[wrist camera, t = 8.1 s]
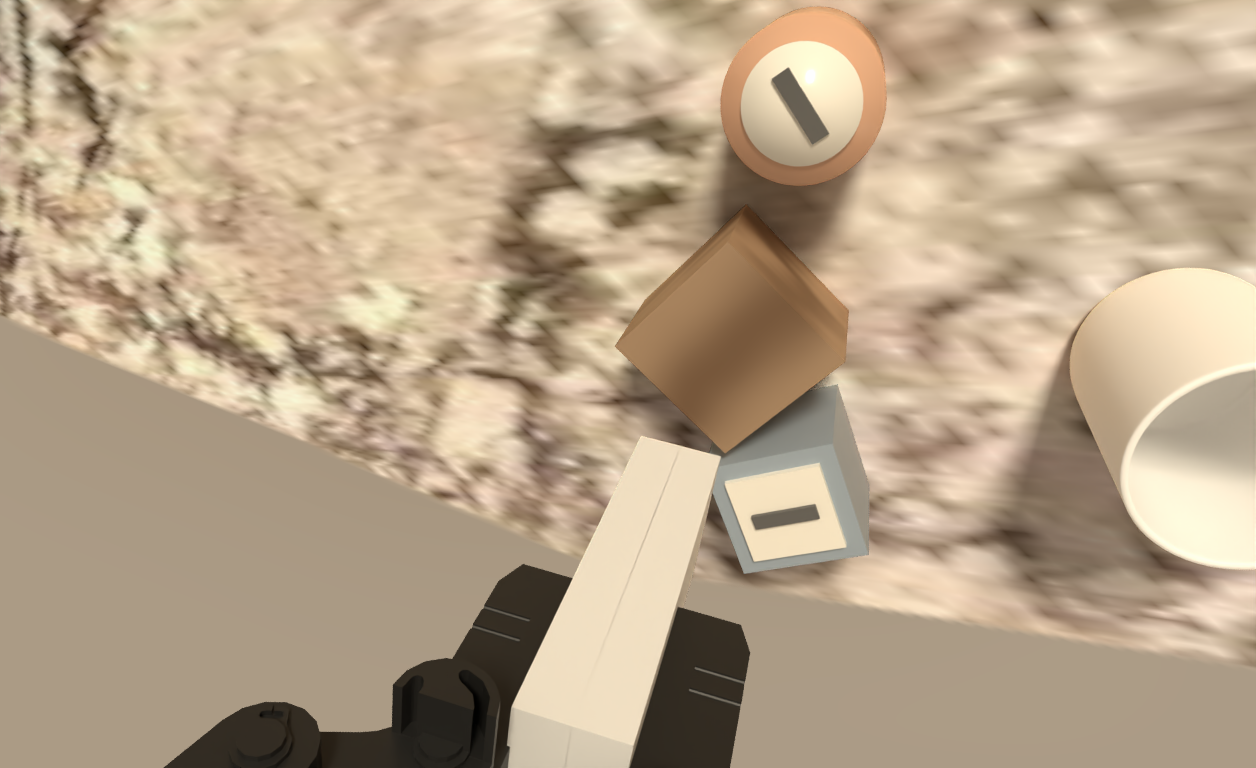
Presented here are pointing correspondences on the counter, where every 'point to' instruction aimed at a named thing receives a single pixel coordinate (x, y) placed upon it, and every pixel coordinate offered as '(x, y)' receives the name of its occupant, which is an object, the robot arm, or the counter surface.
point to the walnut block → (737, 331)
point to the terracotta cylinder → (805, 97)
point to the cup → (1177, 408)
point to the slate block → (796, 487)
